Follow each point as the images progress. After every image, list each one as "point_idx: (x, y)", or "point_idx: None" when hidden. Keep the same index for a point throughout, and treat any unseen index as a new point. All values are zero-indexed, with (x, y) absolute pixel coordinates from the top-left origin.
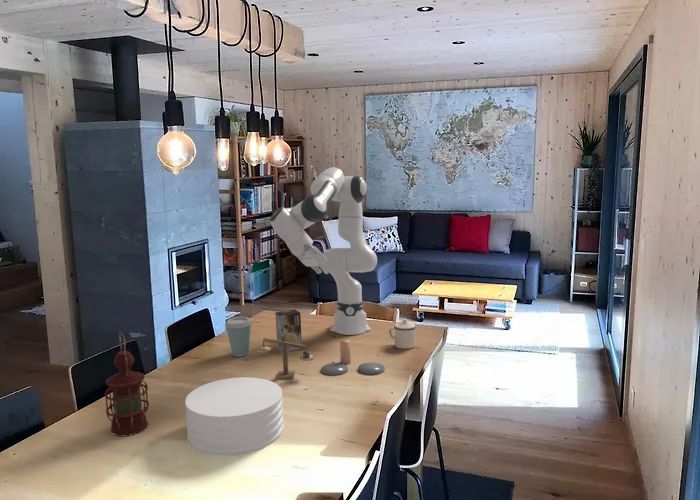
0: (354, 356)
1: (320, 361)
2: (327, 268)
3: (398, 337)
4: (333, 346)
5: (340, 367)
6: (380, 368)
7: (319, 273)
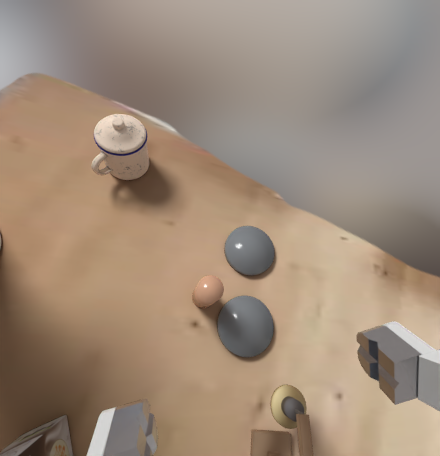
0: (167, 271)
1: (184, 357)
2: (430, 347)
3: (137, 163)
4: (77, 314)
5: (245, 311)
6: (258, 234)
7: (156, 429)
